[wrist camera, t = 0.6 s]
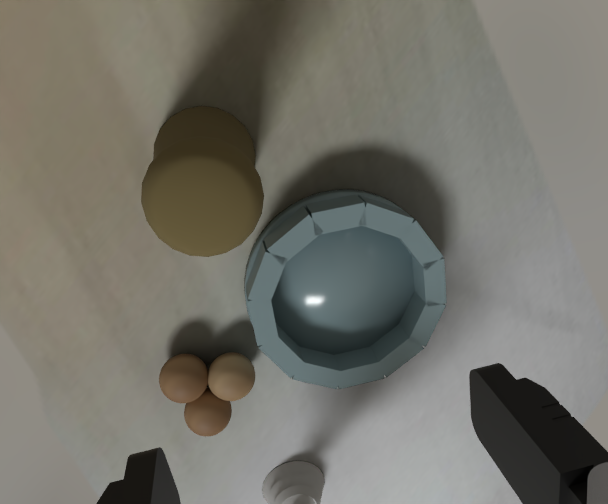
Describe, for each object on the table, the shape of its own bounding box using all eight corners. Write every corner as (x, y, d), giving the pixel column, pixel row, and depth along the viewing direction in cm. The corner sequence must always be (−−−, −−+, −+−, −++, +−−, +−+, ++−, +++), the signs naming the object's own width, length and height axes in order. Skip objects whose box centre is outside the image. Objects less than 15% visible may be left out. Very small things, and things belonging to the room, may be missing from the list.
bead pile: (149, 361, 35) (143, 389, 32) (224, 317, 35) (226, 341, 32) (201, 423, 38) (200, 454, 35) (272, 382, 37) (277, 410, 34)
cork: (234, 90, 30) (246, 109, 20) (269, 186, 32) (297, 246, 22) (135, 126, 30) (97, 165, 20) (178, 220, 32) (164, 297, 22)
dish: (225, 211, 32) (227, 227, 29) (422, 172, 34) (443, 183, 31) (263, 380, 37) (268, 408, 34) (434, 340, 39) (452, 364, 36)
